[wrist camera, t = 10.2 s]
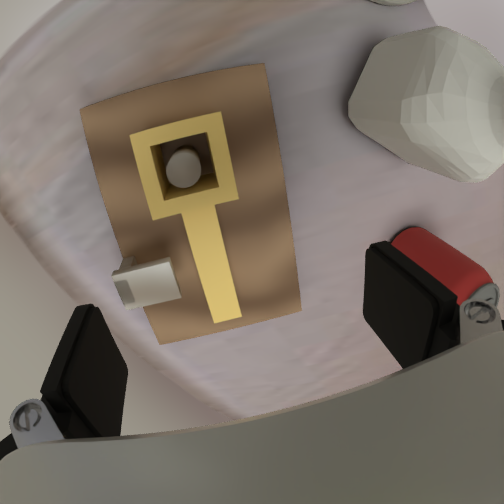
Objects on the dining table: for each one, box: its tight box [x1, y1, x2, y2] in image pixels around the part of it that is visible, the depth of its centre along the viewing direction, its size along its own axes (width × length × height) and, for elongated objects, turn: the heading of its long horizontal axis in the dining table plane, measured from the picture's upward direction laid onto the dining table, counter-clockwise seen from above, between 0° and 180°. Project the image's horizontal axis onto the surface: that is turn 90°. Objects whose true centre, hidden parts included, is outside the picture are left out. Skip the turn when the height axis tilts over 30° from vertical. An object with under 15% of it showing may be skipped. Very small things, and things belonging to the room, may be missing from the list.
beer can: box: [391, 227, 500, 308], centre depth 26 cm, size 7×7×12 cm
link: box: [129, 112, 242, 323], centre depth 22 cm, size 16×5×5 cm, turn 10°
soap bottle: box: [348, 26, 504, 183], centre depth 14 cm, size 10×10×23 cm
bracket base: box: [80, 63, 302, 345], centre depth 23 cm, size 22×14×7 cm, turn 10°
